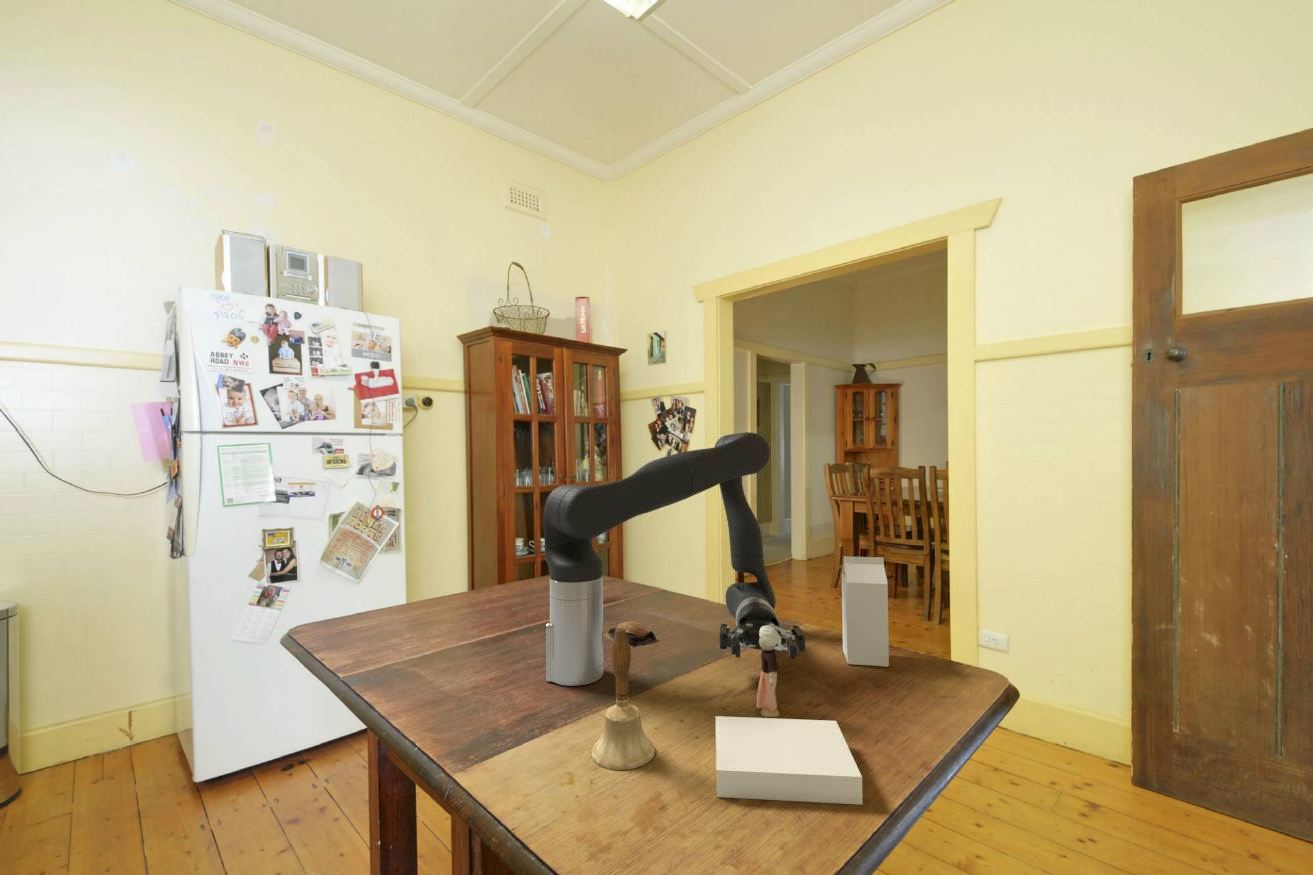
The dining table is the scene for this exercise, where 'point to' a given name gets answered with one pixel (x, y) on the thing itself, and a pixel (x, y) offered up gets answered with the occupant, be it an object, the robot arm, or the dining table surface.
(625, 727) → the hand bell
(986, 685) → the dining table surface
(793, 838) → the dining table surface
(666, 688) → the dining table surface
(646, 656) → the dining table surface
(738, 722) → the stone slab
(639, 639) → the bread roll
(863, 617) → the milk carton
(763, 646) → the grandmother figurine
